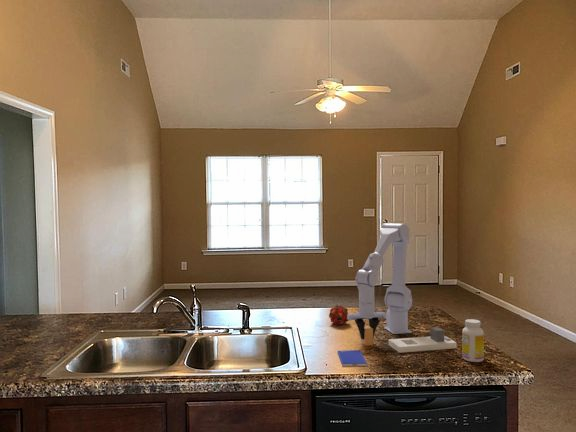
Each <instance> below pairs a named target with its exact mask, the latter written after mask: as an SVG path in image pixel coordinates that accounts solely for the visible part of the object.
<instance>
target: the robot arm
mask: <svg viewBox="0 0 576 432" xmlns="http://www.w3.org/2000/svg"><path fill="white" fill-rule="evenodd" d="M379 235H380V237H379V240H378V241H377V245H376V247H375V250H374V252H372V253H369V255H368V257H367V259H366V260H365V263H364V265H363V267H362V268H361V269H359V270H358V271H356V274H355V278H354V279H355V283H356V285H357V287H356V288H357V289H358V312H354V313H348V314H347V319H348V320H349V321H348V322H350V321H355V324H356V326H357V329H358V332H359V336H360V337H359V338H360V340H361V339H364V327H365V326H366V322H365V320H368V324H369V325H368V326H370V327H371V328H373V339H374V337H375V332H376V330H377V327H378V325H379V323H380V319H386V320H385V322H386V325H385V326H383V328H384V329H385V330H386V331H388V332H390V334H391V333H392V334H393V335H399V334H400V335H401V334H412V331H411V330H410V329H409V328H408V322H409V321H408V319H409V318H408V311H409V310H410V309H411V308H412V305H413V298H412V290H411V289H410V288H408V287H407V286H406V276H407V275H406V273H407V253H408V244H409V243H410V228H409V226H408V225H407V224H406V223H405V222H403V223H396V222H395V223H390V222H384V223H383V224H382V225H381V227H380V229H379ZM390 245H392V246H393V253H392V254H393V257H392V259H393V260H392V273H391V274H392V275H391V276H392V277H391V279H392V280H391V285H390V286H389V287H387V288H386V292H385V296H384V303H385V306H386V307H387V310H386V312H384V311H375V307H376V305H375V286H376V285H377V283H378V280H379V271H380V269H381V267H382V266H383V263H384V258H383V257H384V255H385V254H386V252H387V251H388V249H389V247H390Z"/></svg>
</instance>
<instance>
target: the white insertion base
mask: <svg viewBox="0 0 576 432" xmlns="http://www.w3.org/2000/svg"><path fill="white" fill-rule="evenodd" d="M429 329H430V332H429V333H430V335H429V336H419V337H418V336H417V337H403V338H391V339H390V338H389V339H388V346H389V347H390V348H392V349H393V350H395V351H396V352H398V354H400V353H401V354H402V353H413V352H414V353H415V352H426V351H439V350H450V349H458V347H457V343H458V342H456V341H454V340H453V339H451V338H450V337H448V336H447V335H445V330H444V329H442V328H440V327H438V326H434V327H433V326H432V327H430V328H429Z"/></svg>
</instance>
